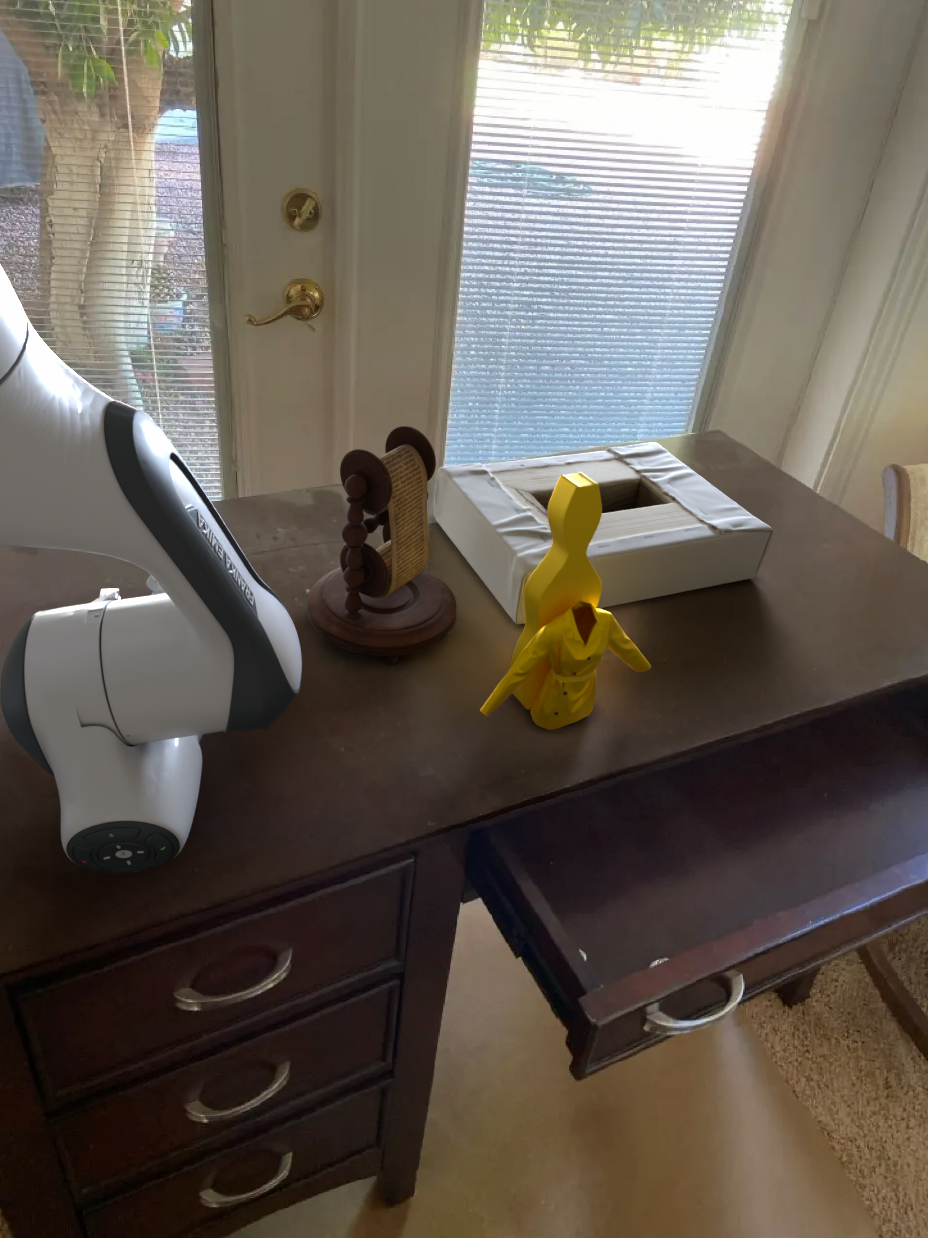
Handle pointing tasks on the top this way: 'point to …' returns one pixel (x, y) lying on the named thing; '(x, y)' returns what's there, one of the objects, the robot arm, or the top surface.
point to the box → (601, 524)
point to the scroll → (385, 557)
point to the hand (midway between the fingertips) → (166, 593)
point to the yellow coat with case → (564, 618)
